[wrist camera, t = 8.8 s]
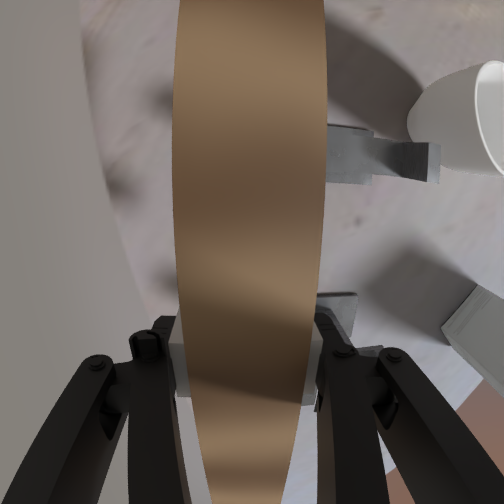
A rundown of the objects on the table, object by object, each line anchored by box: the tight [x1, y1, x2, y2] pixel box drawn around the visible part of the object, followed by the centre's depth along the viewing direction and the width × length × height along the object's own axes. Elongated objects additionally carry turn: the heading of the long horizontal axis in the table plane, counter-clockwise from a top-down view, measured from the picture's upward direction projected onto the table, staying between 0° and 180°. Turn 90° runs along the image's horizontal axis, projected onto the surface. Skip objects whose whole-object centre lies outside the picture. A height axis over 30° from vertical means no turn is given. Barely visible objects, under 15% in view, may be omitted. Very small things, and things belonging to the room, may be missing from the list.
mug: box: [407, 60, 504, 178], centre depth 19 cm, size 12×9×12 cm
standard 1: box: [325, 126, 441, 185], centre depth 20 cm, size 5×8×11 cm, turn 89°
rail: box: [172, 0, 327, 504], centre depth 12 cm, size 26×4×4 cm, turn 179°
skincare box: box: [441, 285, 504, 398], centre depth 25 cm, size 8×6×15 cm
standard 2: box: [301, 293, 384, 406], centre depth 25 cm, size 5×8×11 cm, turn 89°
